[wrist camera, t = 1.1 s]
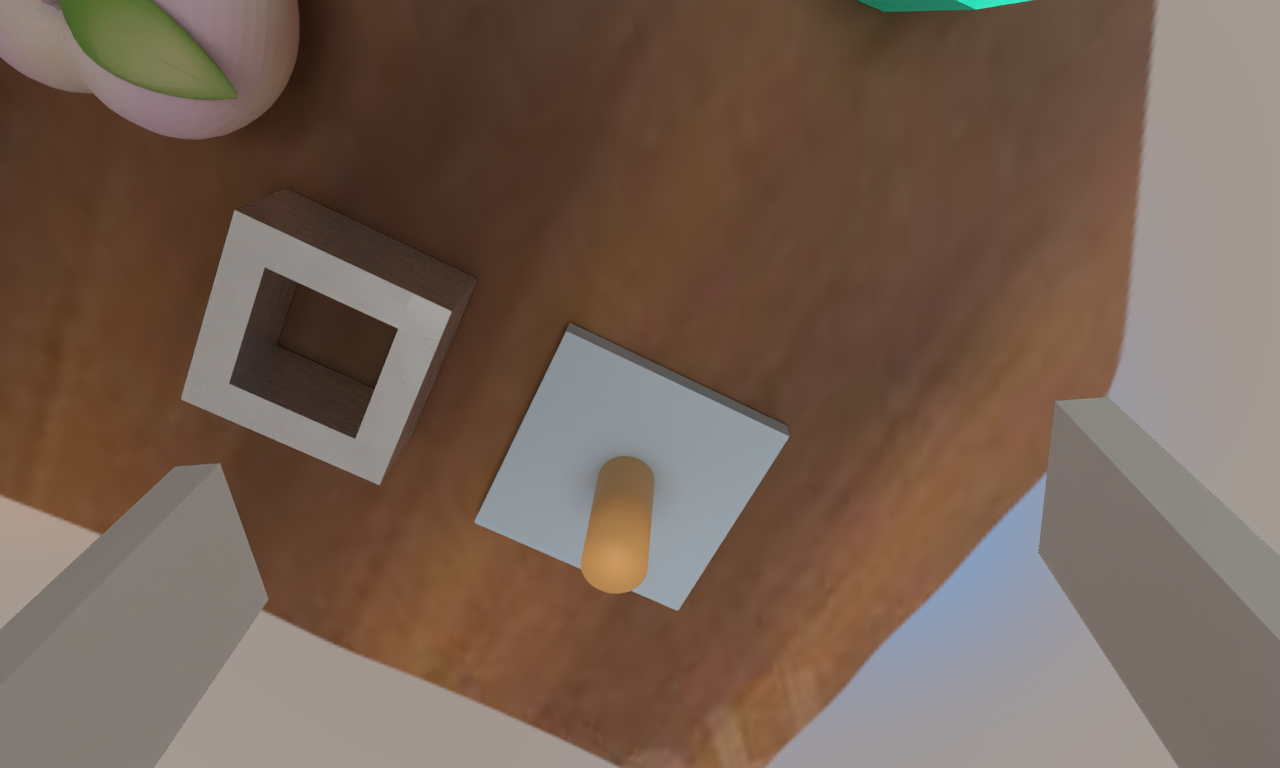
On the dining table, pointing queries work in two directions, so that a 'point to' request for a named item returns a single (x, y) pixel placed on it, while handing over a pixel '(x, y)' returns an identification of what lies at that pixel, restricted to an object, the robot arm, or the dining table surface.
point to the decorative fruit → (159, 57)
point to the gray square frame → (295, 386)
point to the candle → (934, 4)
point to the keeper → (628, 470)
